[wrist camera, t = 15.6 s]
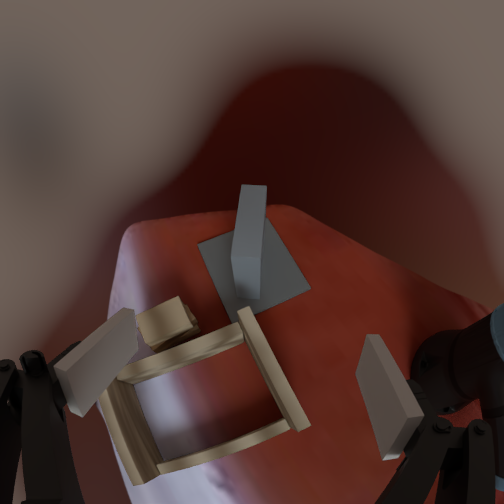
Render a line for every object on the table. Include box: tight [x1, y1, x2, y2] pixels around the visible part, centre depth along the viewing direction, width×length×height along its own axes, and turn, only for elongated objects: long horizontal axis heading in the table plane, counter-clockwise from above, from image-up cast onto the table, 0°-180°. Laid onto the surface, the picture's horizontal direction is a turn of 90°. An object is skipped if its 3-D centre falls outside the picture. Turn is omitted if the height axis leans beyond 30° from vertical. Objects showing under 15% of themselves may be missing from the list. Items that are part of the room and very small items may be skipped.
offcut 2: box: [138, 302, 198, 354], centre depth 40 cm, size 8×4×2 cm, turn 132°
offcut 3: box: [163, 305, 201, 351], centre depth 42 cm, size 8×4×2 cm, turn 120°
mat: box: [197, 218, 311, 324], centre depth 48 cm, size 14×16×1 cm
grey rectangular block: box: [231, 185, 267, 300], centre depth 42 cm, size 4×12×13 cm, turn 175°
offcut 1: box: [136, 296, 194, 347], centre depth 38 cm, size 7×4×2 cm, turn 118°
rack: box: [99, 306, 311, 486], centre depth 32 cm, size 23×16×10 cm
